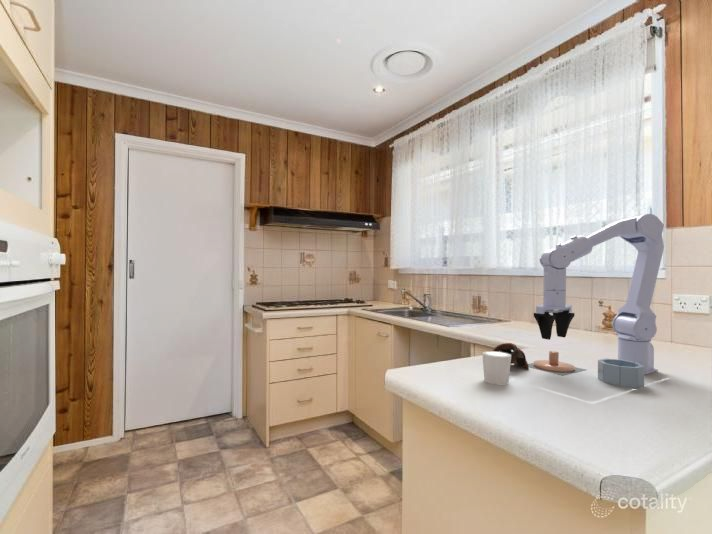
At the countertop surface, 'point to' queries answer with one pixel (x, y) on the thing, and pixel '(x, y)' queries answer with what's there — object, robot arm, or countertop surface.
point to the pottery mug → (513, 354)
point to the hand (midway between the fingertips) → (553, 337)
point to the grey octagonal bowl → (621, 373)
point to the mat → (558, 372)
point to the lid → (554, 364)
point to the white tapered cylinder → (496, 367)
